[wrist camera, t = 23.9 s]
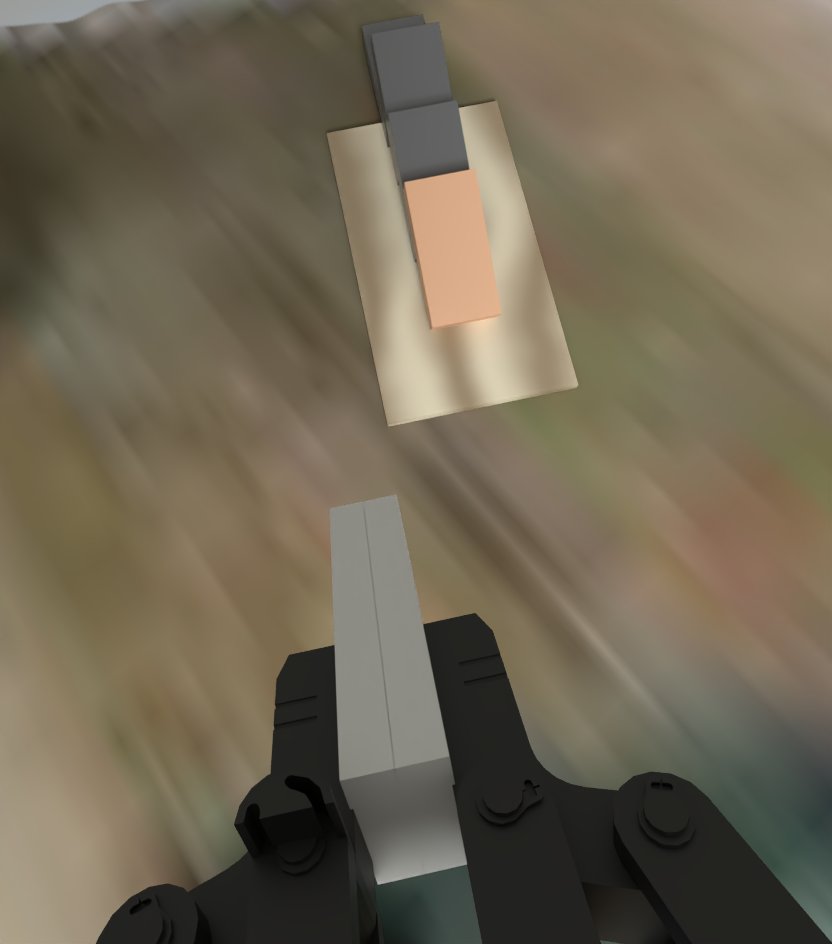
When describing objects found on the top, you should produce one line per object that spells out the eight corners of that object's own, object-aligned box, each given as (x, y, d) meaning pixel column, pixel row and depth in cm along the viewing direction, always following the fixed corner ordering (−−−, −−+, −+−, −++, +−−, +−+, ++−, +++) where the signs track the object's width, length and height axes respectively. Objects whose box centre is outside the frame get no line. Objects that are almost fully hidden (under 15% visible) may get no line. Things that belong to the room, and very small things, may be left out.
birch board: (387, 426, 47) (387, 423, 46) (327, 138, 53) (326, 133, 52) (576, 387, 47) (578, 384, 47) (495, 106, 53) (496, 100, 53)
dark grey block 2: (482, 244, 48) (457, 100, 46) (416, 257, 47) (387, 113, 46) (478, 249, 50) (453, 111, 48) (414, 262, 49) (387, 124, 48)
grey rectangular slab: (464, 165, 49) (438, 21, 47) (398, 177, 49) (371, 34, 47) (460, 173, 51) (436, 36, 49) (397, 185, 51) (371, 48, 49)
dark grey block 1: (449, 116, 50) (422, 14, 52) (385, 128, 50) (361, 25, 52) (448, 135, 52) (422, 36, 54) (387, 147, 52) (364, 47, 54)
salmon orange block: (501, 313, 46) (475, 168, 45) (432, 327, 46) (404, 182, 45) (496, 317, 48) (471, 177, 47) (430, 330, 48) (403, 191, 47)
